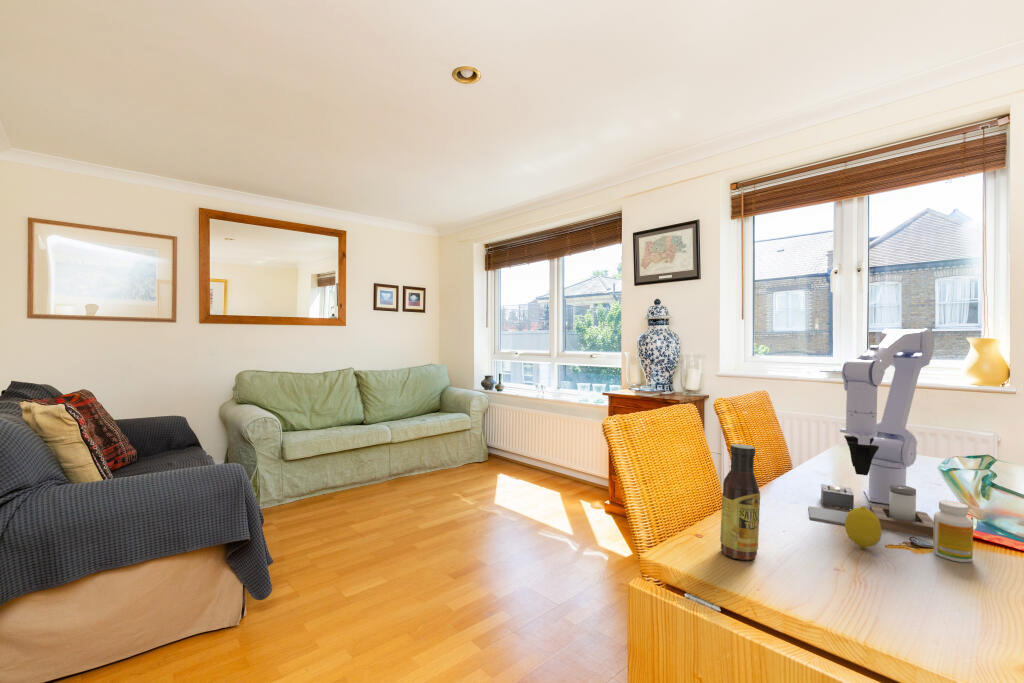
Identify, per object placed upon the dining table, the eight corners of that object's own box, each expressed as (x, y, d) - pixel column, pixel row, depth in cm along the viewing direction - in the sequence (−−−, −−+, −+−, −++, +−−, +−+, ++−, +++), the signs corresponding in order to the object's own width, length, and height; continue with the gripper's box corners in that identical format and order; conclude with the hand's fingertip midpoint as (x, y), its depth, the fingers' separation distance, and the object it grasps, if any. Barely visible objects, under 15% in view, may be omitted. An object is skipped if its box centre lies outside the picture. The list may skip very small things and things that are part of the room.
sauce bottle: (742, 565, 84) (744, 451, 83) (712, 550, 89) (714, 444, 89) (766, 557, 87) (768, 448, 86) (736, 544, 92) (738, 441, 92)
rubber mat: (808, 508, 112) (808, 506, 112) (850, 515, 108) (850, 512, 108) (810, 519, 105) (810, 517, 105) (854, 527, 101) (854, 524, 101)
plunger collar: (821, 498, 119) (821, 484, 119) (850, 502, 116) (850, 488, 116) (822, 505, 114) (823, 490, 114) (853, 510, 111) (853, 495, 111)
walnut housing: (869, 512, 110) (869, 504, 110) (926, 521, 105) (926, 512, 105) (876, 527, 101) (876, 518, 101) (938, 538, 96) (939, 528, 96)
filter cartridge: (887, 519, 106) (888, 483, 106) (912, 523, 104) (913, 486, 104) (890, 526, 102) (891, 488, 102) (917, 530, 100) (918, 492, 100)
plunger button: (828, 497, 117) (829, 485, 117) (843, 499, 116) (844, 487, 116) (829, 501, 115) (830, 488, 115) (845, 503, 113) (845, 490, 113)
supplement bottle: (980, 564, 85) (982, 510, 85) (945, 561, 86) (946, 507, 86) (958, 551, 90) (960, 499, 90) (925, 548, 92) (927, 497, 91)
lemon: (874, 545, 93) (875, 503, 93) (885, 557, 87) (886, 513, 87) (840, 540, 94) (841, 500, 94) (850, 552, 89) (851, 509, 89)
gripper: (838, 406, 119) (837, 461, 119) (842, 414, 106) (841, 475, 107) (873, 409, 115) (872, 465, 115) (882, 417, 103) (880, 480, 103)
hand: (859, 470), depth 111 cm, fingers open, 7 cm apart
